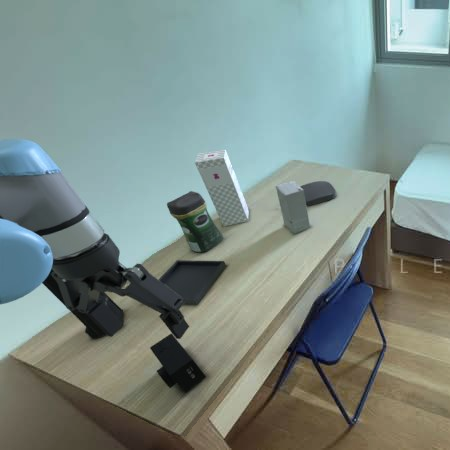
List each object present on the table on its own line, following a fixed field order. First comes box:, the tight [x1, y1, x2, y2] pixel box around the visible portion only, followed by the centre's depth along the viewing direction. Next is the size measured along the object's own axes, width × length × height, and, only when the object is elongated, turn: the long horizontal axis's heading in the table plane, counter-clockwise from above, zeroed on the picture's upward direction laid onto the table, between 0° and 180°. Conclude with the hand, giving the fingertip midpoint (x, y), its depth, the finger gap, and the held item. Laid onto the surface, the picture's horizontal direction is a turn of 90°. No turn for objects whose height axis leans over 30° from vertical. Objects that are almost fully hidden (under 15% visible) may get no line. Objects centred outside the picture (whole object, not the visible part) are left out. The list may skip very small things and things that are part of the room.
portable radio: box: [41, 269, 124, 340], centre depth 70 cm, size 8×6×25 cm
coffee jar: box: [166, 190, 223, 253], centre depth 98 cm, size 10×8×19 cm
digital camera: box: [149, 333, 207, 394], centre depth 64 cm, size 10×5×7 cm, turn 53°
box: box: [194, 148, 250, 227], centre depth 109 cm, size 8×8×25 cm
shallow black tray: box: [157, 259, 227, 306], centre depth 88 cm, size 15×15×2 cm
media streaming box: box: [299, 180, 337, 206], centre depth 128 cm, size 15×15×3 cm
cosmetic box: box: [275, 180, 311, 235], centre depth 106 cm, size 8×7×16 cm
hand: (149, 331), depth 58 cm, fingers open, 13 cm apart
